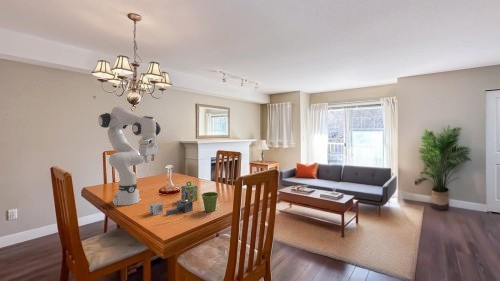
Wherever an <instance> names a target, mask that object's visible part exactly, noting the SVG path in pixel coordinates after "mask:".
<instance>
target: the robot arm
mask: <svg viewBox="0 0 500 281" xmlns="http://www.w3.org/2000/svg"><path fill="white" fill-rule="evenodd" d="M97 122H98V125H99V126H100V127H101V128H105V129H106V128H108V129H107V131H106V132H107V136H108V140H109V142H110V144H111V146H112V149H113V150H114V151H115V153H112V154H110V155H109V157H108V163H109V165H110V166H111V167H113V168H114V169H115V170H116V172H117V173H118V177H119V185H118V190H117V192H115V194H114V195H113V198H114V199H112V200H111V201H113V202H112V203H113V205H114V206H115V207H116V206H117V205H118V206H130V205H135V204H138V203H139V202H140V201H142V198H140V190H139V189H137V188H138V184H137V174H136V172H135V171H133V170H131V169H130V167H131V166H137V165H141V164H143V163H149V159H148V158H149V156H151V158H150V161H152V162H155V158H156V154H158V153H159V146H158V142H157V136H158V135H159V134H160V132H161V130H162V129H161V125H160V124H159V123H158V122H156V118H155V117H154V116H147V115H146V116H145V115H144V116H140V115H138V114H136V113H134V112H133V111H131V110H129V109H127V108H126V107H124V106H120V105H119V106H118V105H117V106H114V107H113V108H112V109H111V112H110V113H109V112H105V113H102V114H100V115H99V116H98V119H97ZM129 126H132V127H131V129H132V134H134V135H135V136H138V137H141V138H140V139H139V140H138V142H137V143H138V148H139V150H138V149H137V148H135V147H133V146H132V145H131V143H130V142H129V141H128V139H127V137H126V135H125V134H124V132H123V130H125V129H127V127H129ZM118 206H117V207H118Z"/></svg>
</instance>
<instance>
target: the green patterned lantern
mask: <svg viewBox="0 0 500 281" xmlns="http://www.w3.org/2000/svg"><path fill="white" fill-rule="evenodd" d="M180 189H181V190H180V191H181V192H180V193H181V194H180V195H181V199H180V200H182V199H187V200H189V201H192V202H195V201H198V186H197V185H194V184H192V181H191V180H190V181H187V182H186V185H183V186H181V187H180Z"/></svg>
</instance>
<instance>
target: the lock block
mask: <svg viewBox="0 0 500 281" xmlns="http://www.w3.org/2000/svg"><path fill="white" fill-rule="evenodd" d="M163 206H164V205H163V203H161V202H153V203H149V214H152V215H153V216H156V215H160V214H163V212H164V211H163Z"/></svg>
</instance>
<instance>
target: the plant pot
mask: <svg viewBox="0 0 500 281" xmlns="http://www.w3.org/2000/svg"><path fill="white" fill-rule="evenodd" d="M219 194H220V193H218V192H215V191H207V192H203V193H201V195H200V196H201V198H202V201H203V207H204V211H205V212H208V213H211V212H214V211H216V208H217V201H218V197H219Z"/></svg>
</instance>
